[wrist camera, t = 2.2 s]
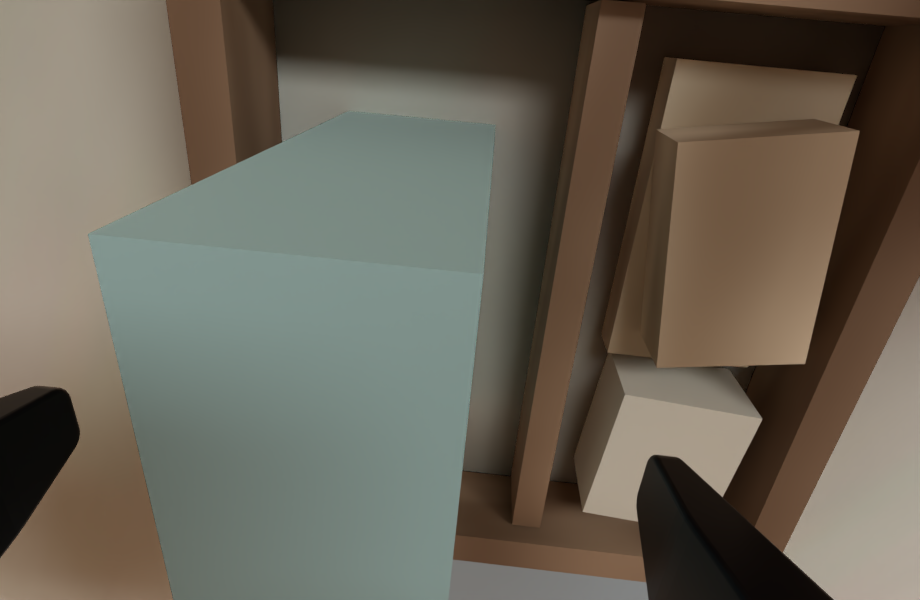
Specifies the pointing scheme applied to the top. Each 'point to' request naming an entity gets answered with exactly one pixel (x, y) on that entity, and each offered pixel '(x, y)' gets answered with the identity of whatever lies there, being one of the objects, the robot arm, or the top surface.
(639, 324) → the offcut
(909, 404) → the top surface
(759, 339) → the offcut
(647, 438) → the offcut
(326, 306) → the tall sage green box
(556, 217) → the tray
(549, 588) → the mat
